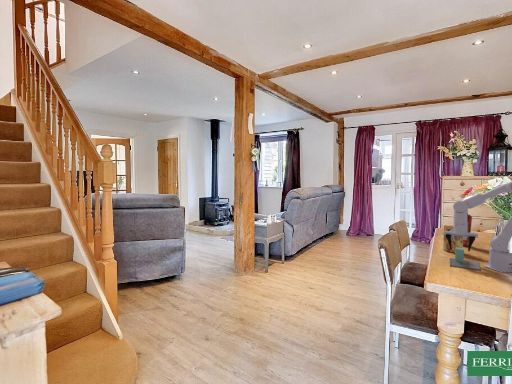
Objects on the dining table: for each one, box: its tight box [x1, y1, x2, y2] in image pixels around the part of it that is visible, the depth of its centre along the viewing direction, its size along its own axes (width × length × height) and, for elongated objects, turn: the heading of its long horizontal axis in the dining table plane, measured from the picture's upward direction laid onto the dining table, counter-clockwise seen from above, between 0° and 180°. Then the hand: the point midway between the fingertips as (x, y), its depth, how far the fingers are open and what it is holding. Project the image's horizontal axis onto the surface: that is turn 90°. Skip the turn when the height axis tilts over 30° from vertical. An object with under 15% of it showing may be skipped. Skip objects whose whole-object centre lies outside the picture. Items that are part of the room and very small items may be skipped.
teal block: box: [454, 247, 465, 262], centre depth 148 cm, size 4×4×6 cm
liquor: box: [463, 209, 473, 248], centre depth 179 cm, size 7×7×28 cm
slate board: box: [449, 257, 481, 271], centre depth 144 cm, size 14×12×1 cm
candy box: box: [442, 224, 464, 254], centre depth 167 cm, size 9×4×15 cm, turn 33°
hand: (459, 249), depth 147 cm, fingers open, 7 cm apart
